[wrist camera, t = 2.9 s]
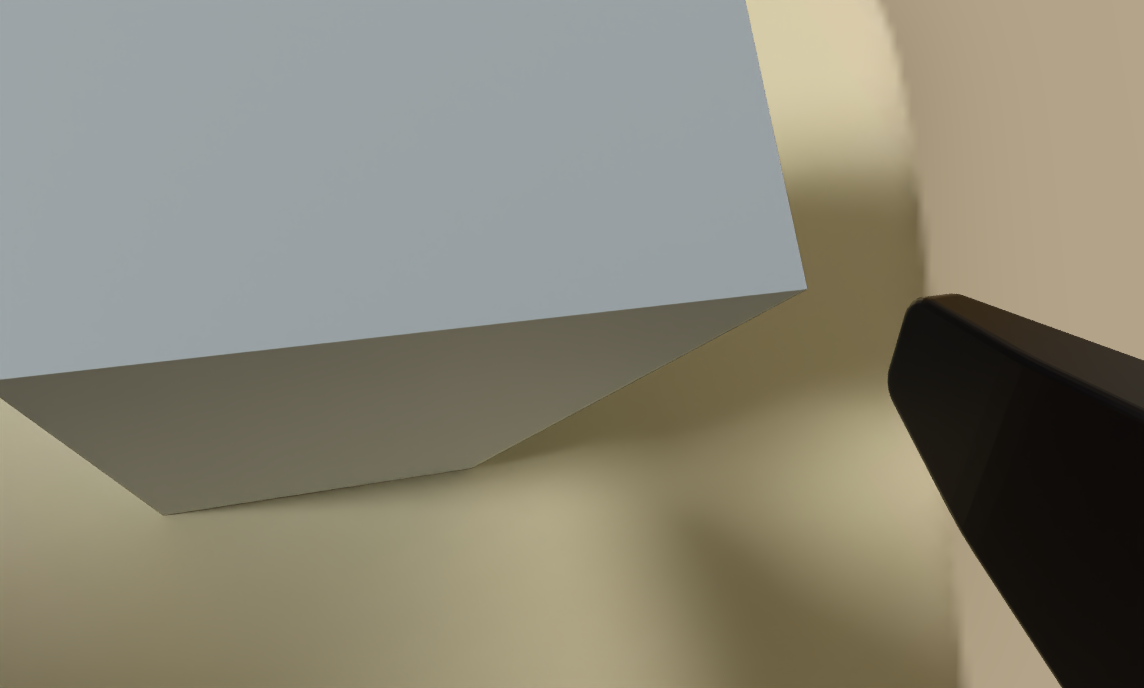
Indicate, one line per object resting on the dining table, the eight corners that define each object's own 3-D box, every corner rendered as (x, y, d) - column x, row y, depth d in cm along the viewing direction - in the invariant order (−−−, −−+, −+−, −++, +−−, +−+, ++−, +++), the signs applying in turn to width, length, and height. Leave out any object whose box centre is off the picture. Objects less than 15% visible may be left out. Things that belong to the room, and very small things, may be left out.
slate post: (471, 467, 18) (807, 288, 7) (163, 515, 17) (-22, 381, 6) (428, 192, 19) (669, -353, 8) (130, 214, 18) (-87, -423, 7)
